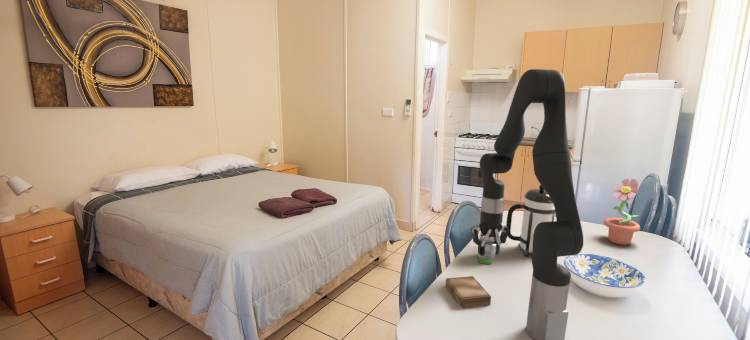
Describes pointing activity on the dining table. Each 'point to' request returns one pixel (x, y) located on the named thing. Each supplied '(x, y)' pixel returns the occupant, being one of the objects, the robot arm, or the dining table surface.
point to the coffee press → (532, 216)
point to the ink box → (485, 260)
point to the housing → (490, 249)
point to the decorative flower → (623, 214)
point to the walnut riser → (468, 292)
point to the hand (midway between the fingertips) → (488, 254)
